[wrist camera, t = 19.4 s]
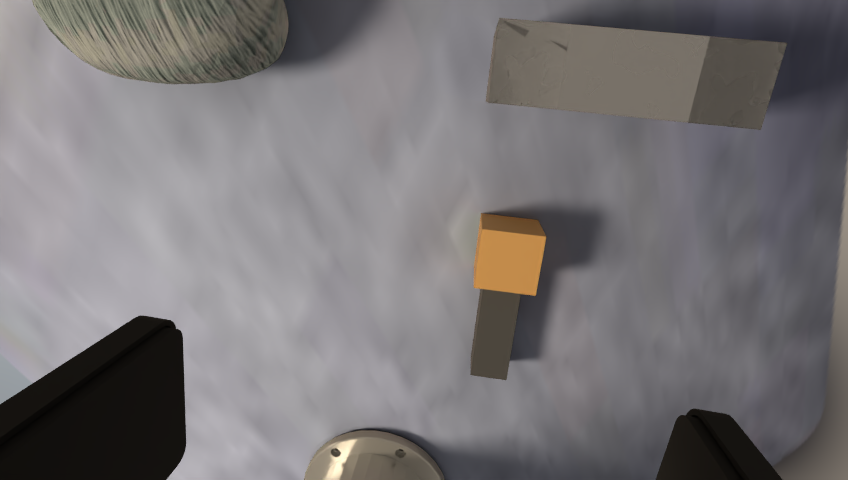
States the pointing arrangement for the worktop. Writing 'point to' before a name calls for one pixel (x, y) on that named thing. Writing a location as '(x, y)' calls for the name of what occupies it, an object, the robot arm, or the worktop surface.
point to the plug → (502, 287)
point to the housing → (633, 72)
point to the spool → (171, 36)
